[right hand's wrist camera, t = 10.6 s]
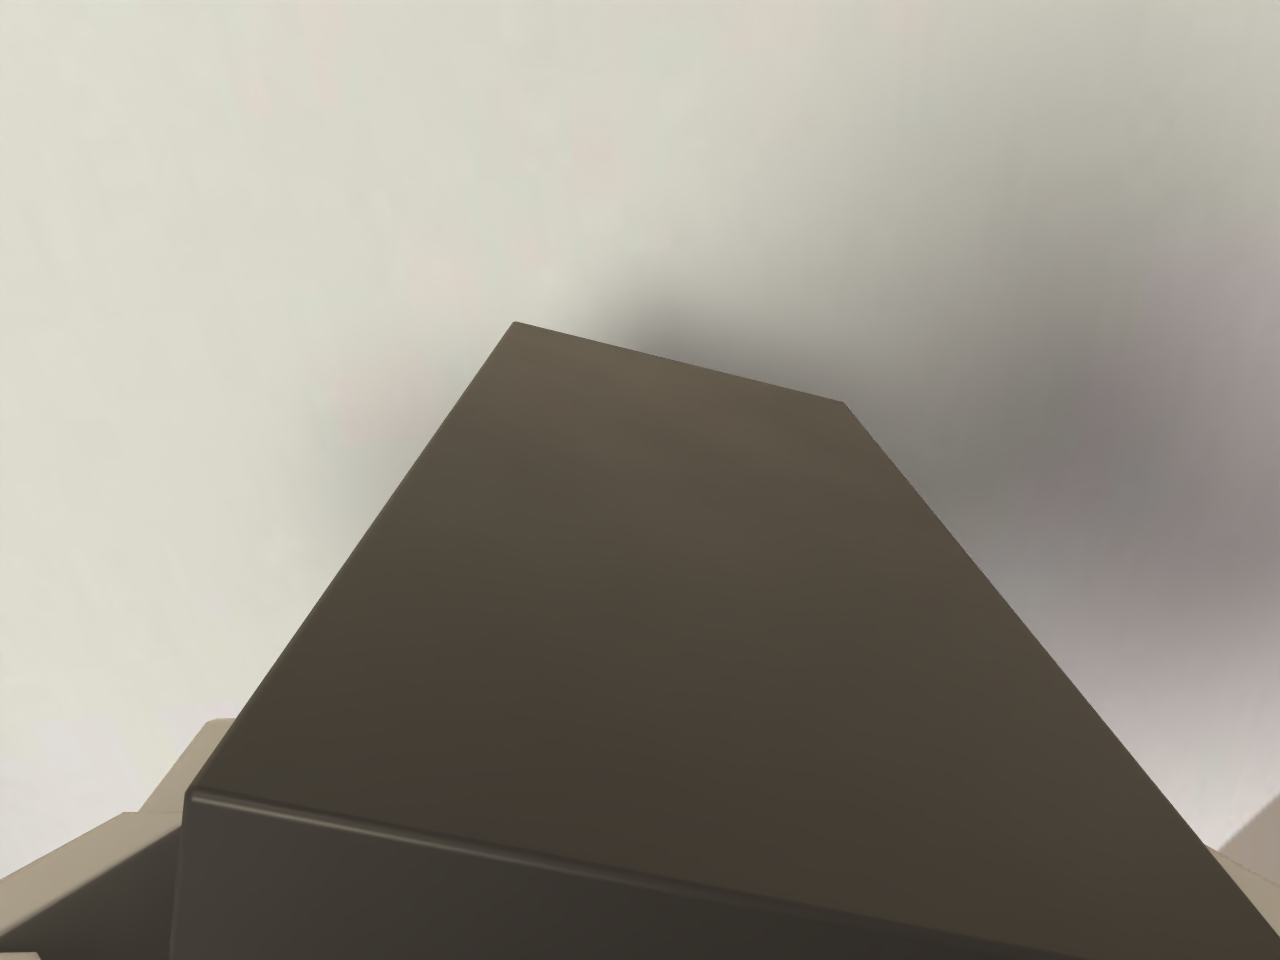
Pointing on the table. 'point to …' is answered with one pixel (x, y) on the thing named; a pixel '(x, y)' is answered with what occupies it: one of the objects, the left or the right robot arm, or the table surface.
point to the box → (676, 714)
